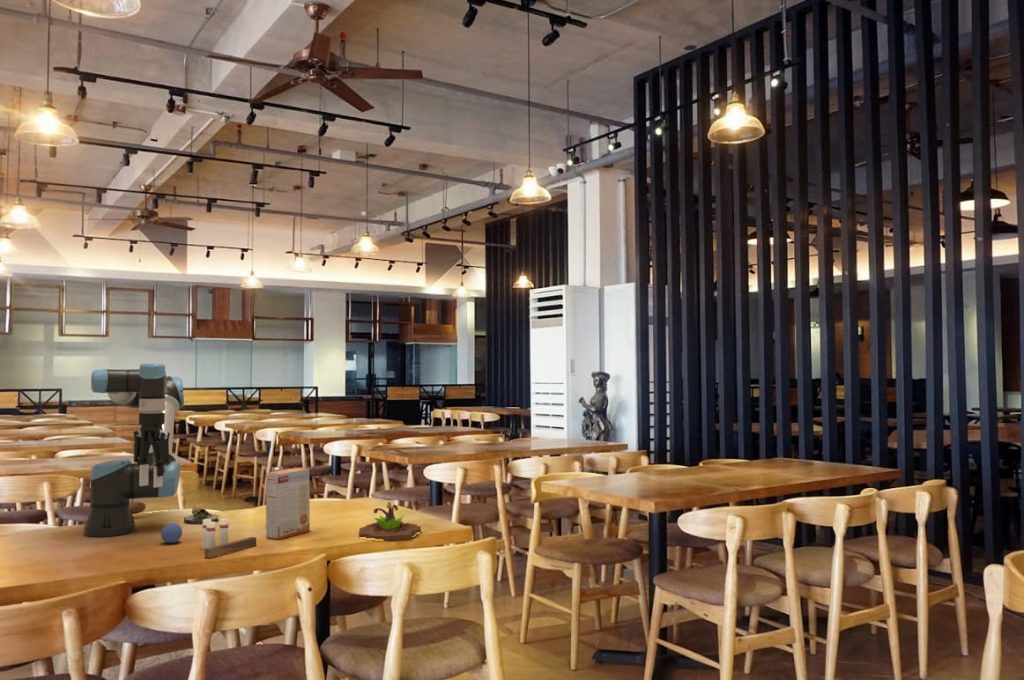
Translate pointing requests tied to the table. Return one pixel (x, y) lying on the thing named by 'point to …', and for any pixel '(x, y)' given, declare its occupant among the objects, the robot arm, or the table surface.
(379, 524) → the plant
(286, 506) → the cracker box
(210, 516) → the dish garden
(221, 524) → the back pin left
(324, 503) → the table surface
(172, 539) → the ball
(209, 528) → the back pin right
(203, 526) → the front pin
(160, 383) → the robot arm
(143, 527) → the table surface
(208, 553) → the back rail
